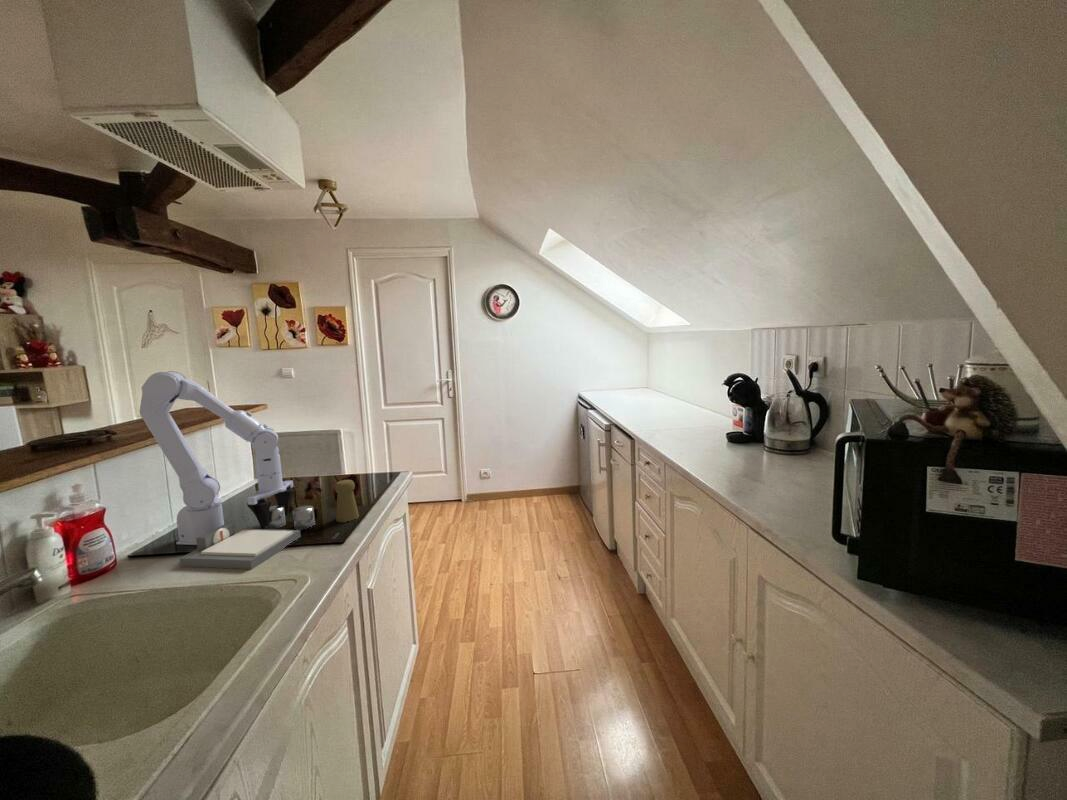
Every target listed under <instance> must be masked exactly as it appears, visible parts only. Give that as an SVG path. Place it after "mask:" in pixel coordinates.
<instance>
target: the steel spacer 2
mask: <svg viewBox="0 0 1067 800" xmlns="http://www.w3.org/2000/svg"><path fill="white" fill-rule="evenodd" d="M314 510H315V509H314V506H313V505H302V506H299V507H296V508H293V510H292V516H293V524H294V525H293V526H294V530H295V529H296V530H300V531H304V530H303V529H305V530H308V529H307V528H309V527H311V528H313V527H314V526H313V525H316V519H315V518H316V517H315V511H314ZM312 526H313V527H312ZM309 529H310V528H309Z"/></svg>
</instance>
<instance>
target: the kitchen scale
mask: <svg viewBox="0 0 1067 800" xmlns="http://www.w3.org/2000/svg"><path fill="white" fill-rule="evenodd" d="M300 537H301V538H302V535H301V530H295V529H265V528H260V529H259V528H236V529H235V525H234V523H224V525H222V526H220V527H218V528H216V529H213V530H211V531H209V532H207V533H205V534H203V535H201V536H199V537H197V538H196V541H197V545H196V546H197V549H195V550H193V551H191V552H189V553H187V554H185V555H183V556H180V557H179V564H180V565H179V566H180V567H181V568H182V567H184V568H185V567H187V568H206V567H215V568H214V569H233V568H236V569H237V568H238V569H237V570H253V569H255V568H256V567H258V566H259V565H261V564H262V563H264V562H266V561H267V560H269V559H270V558H271V557H273V556H275V555H276V554H278V553H279V552H281V551H282V550H285V547H286V546H287V545H289V544H290V543H292V542H293V541H295V540H296V541H298V540H299V539H298V538H300ZM301 538H300V539H301ZM297 539H298V540H297ZM296 541H295V542H296ZM293 543H294V542H293ZM293 543H292V544H293ZM290 545H291V544H290ZM290 545H289V546H290ZM287 547H288V546H287ZM287 547H286V548H287Z"/></svg>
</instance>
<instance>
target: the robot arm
mask: <svg viewBox="0 0 1067 800" xmlns="http://www.w3.org/2000/svg"><path fill="white" fill-rule="evenodd" d="M177 399H178V400H183V401H184V400H185V401H193V402H196V403H197V404H198V405H200V406H202V407H203V408H205V409H206V410H208V411H210V412H211V413H213V414H215V415H216V416H218V417H219V418H221V419H222V420H223V421H224V424H225V425H224V426H225V427H224V428H226V429H228V430H229V431H231V432H232V433H234V434H235V435H236V436H238V437H240V438H241V439H243V441H245V442H247V443H248V442H249V443H251V446H252V448H253V450H255V457H254V458H255V466H256V476H257V477H256V478H257V484H258V490H256V491H255V492H254V493H253V494H251V495H249V496H247V497H246V500H247V502H246V503H247V505H246V506H247V507H248V509H250V510H251V512H252V513H253V515H254V516H255V518H256V519H257V521H258V524H259V526H260V527H261V528H262V527H264V528H265V527H267V526H269V510H270V506H272V501H266V500H265V499H268V498H270V497H272V496H274V497H275V500H276V503H277V505H283V506H284V510H285V517H287V516H289V514H290V510H291V509H290V508H291V503H292V500H293V497H294V495H295V494H296V490H295V488H293V487H294V480H285V481H284V480H283V472H282V463H281V462H282V461H281V455H280V448H279V447H278V445H279V435H278V433H277V432H276V431H275V430H274V429H273V428H272V427H269V425H268V424H266V423H264V424H263V423H261V421H259V420H257V419H256V418H254V417H253V413H252V412H250V411H247V412H246V410H245V411H244V410H242V409H241V410H240V409H239V410H234V409H233V408H232V407H230V405H228V404H226V403H225V402H223V401H222V400H221V399H219V398H218V397H217V396H216V395H215V394H213V393H212V392H210V391H209V390H208V389H206V388H205V387H203V386H202V385H201V384H199V383H198V382H196V381H195V380H193V379H191V378H187V377H186V376H185V375H184V374H183V373H181V372H178V371H174V370H173V371H172V370H169V371H157V372H155V373H153V374H151V375H149V376H148V378H147V379H146V381H145V382H144V383H143V385H142V386H141V398H140V406H139V415H140V417H141V419H142V420H143V422H144V423H145V425H146V427H147V428H148V429H149V431H150V433H151V435H152V436H153V438H154V440H155V441H156V443H157V445H158V446H159V448H160V450H161V451H162V453H163V454H164V456H165V457H166V459H167V461H168V462H169V464H170V465H171V467H172V468H173V469H172V470H174V472H175V474H176V475H177V477H178V482H179V487H180V489H181V491H182V495H183V496H182V500H183V503H184V504H185V506H184V507H182V508H181V509H180V510H179V511H178V512H177V515H176V526H177V534H178V541H177V542H175V543H176V544H175V545H189V546H190V545H191V546H197V541H196V538H197V537H199V536H201V535H203V534H205V533H207V532H209V531H211V530H213V529H216V528H218V527H220V526H222V525H224V524H225V521H224V520H225V519H224V513H223V506H222V505H223V504H222V500H221V499H220V498H219V497H218V494H219V493H220V491H221V485H220V481H218V479H216V478H215V477H213V476H212V475H210V473H209V471H208V470H206V468H204V467H203V466H202V465H201V463H200V462H199V460H198V458H197V456H196V454H195V453H194V452H193V450H192V448H191V447H190V445H189V443H188V442H187V441H188V440H186V438H185V437H184V435H183V432H182V431H181V430H180V428H179V426H178V424H177V423H176V422H175V420H174V418H173V417H172V414H171V412H170V411H171V409H172V407H173V405H175V404H174V403H175V401H177Z"/></svg>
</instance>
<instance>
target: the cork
mask: <svg viewBox="0 0 1067 800" xmlns="http://www.w3.org/2000/svg"><path fill="white" fill-rule="evenodd" d="M355 487H356V486H355V482H354V480H352V479H343V480H339V481H337V482H336V483H335V485H334V491H335V493H337V496H336V497H337V498H336V518H335V520H336V522H338V523H348V522H347V521H349V522H352V521H351V520H353V521H355V520H354V519H356V520H357V519H359V517H360V514H359V509H358V507H357V501H356V498H355V494H354V490H355V489H356V488H355Z"/></svg>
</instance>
